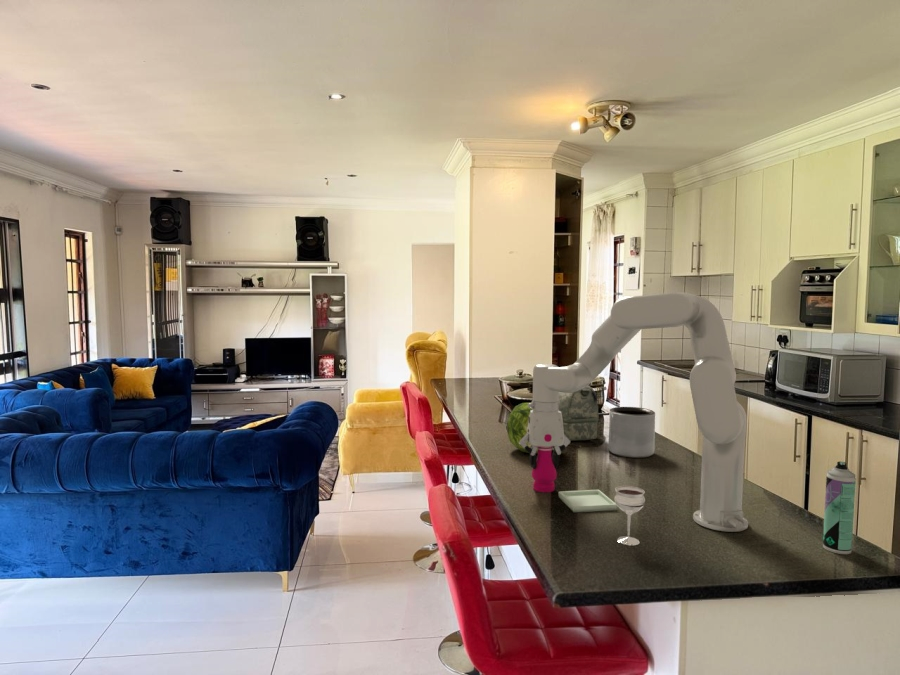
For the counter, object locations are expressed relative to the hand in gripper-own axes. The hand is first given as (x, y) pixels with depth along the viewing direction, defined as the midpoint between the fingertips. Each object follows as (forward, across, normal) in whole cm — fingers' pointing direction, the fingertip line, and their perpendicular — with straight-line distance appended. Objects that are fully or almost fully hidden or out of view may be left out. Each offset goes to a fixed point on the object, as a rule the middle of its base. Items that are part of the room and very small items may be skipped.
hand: (544, 466), depth 173 cm
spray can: (+7, +53, -49) cm, 72 cm away
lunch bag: (+7, +31, +64) cm, 71 cm away
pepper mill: (+7, 0, 0) cm, 7 cm away
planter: (+7, +44, +34) cm, 56 cm away
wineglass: (+7, +8, -38) cm, 39 cm away
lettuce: (+7, +10, +39) cm, 41 cm away
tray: (+7, +8, -13) cm, 17 cm away
